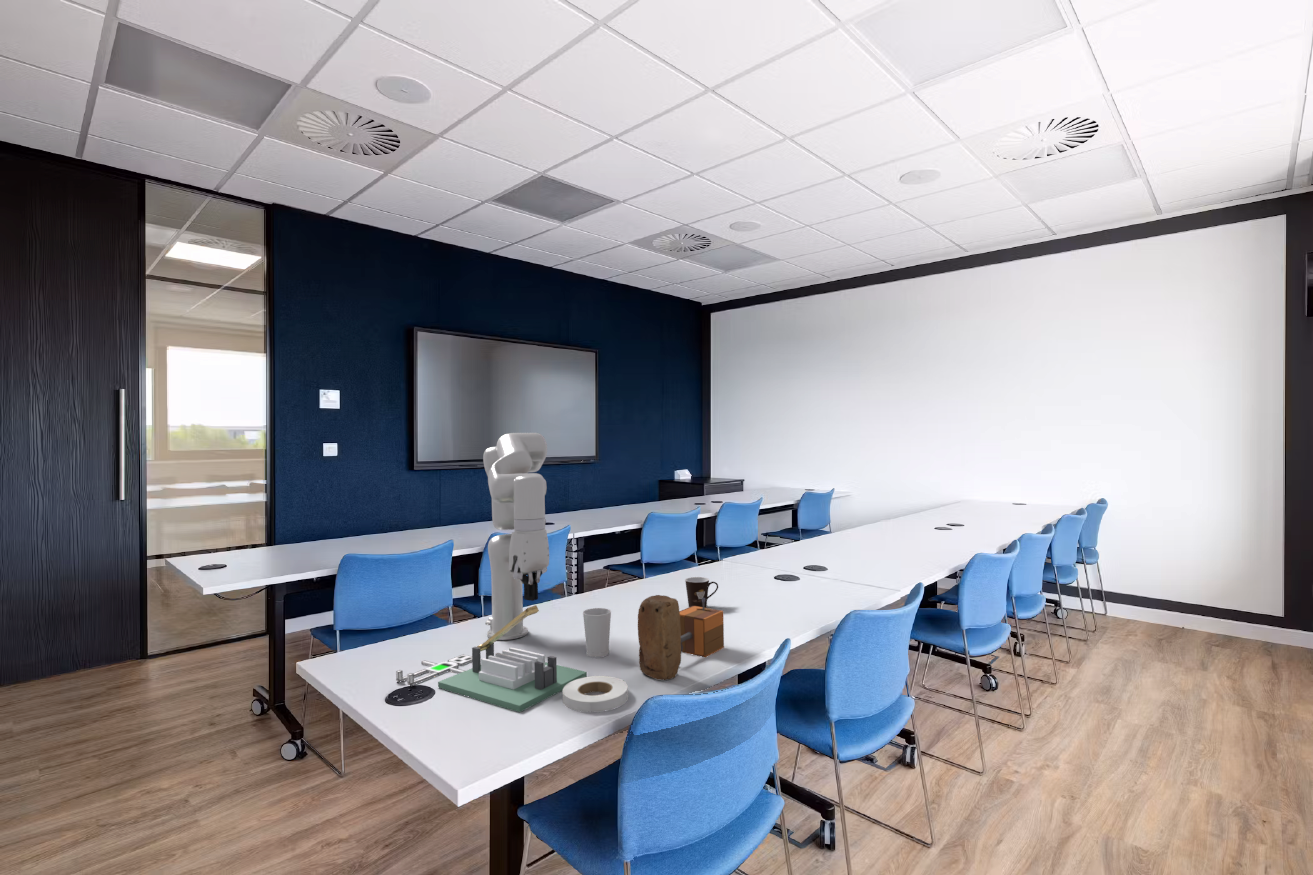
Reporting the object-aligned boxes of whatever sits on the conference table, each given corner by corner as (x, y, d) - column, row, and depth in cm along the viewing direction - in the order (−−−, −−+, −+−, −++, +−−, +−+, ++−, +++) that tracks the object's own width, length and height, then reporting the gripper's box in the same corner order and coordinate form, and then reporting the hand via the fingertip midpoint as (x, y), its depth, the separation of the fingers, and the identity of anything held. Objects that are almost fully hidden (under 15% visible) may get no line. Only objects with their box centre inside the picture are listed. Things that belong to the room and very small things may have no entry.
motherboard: (438, 687, 159) (437, 656, 159) (509, 658, 179) (508, 631, 179) (519, 712, 144) (518, 678, 144) (586, 677, 164) (586, 647, 164)
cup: (607, 659, 177) (606, 616, 177) (580, 657, 179) (579, 614, 179) (614, 649, 185) (614, 608, 185) (588, 648, 187) (587, 607, 187)
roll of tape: (594, 719, 140) (594, 706, 140) (549, 701, 150) (549, 689, 150) (641, 697, 152) (641, 685, 152) (596, 682, 162) (596, 670, 162)
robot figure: (424, 692, 157) (490, 664, 176) (424, 678, 157) (490, 652, 176) (382, 680, 166) (449, 654, 185) (382, 667, 166) (449, 643, 185)
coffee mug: (684, 610, 227) (683, 582, 227) (687, 603, 235) (686, 576, 235) (717, 611, 225) (716, 582, 225) (718, 604, 233) (718, 577, 233)
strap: (478, 654, 166) (475, 647, 167) (487, 650, 169) (484, 644, 169) (530, 613, 156) (527, 606, 157) (539, 610, 158) (535, 603, 159)
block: (684, 675, 164) (683, 598, 164) (664, 684, 158) (662, 604, 159) (654, 666, 171) (652, 591, 171) (634, 673, 166) (632, 597, 166)
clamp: (654, 660, 176) (653, 608, 176) (693, 641, 192) (693, 594, 192) (686, 668, 169) (685, 614, 169) (724, 648, 185) (723, 598, 185)
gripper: (539, 521, 166) (540, 591, 166) (496, 528, 154) (497, 604, 154) (561, 522, 162) (562, 594, 162) (518, 530, 150) (520, 608, 149)
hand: (531, 599), depth 158 cm, fingers closed
